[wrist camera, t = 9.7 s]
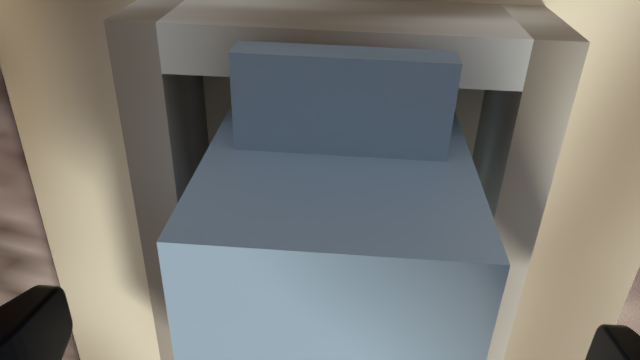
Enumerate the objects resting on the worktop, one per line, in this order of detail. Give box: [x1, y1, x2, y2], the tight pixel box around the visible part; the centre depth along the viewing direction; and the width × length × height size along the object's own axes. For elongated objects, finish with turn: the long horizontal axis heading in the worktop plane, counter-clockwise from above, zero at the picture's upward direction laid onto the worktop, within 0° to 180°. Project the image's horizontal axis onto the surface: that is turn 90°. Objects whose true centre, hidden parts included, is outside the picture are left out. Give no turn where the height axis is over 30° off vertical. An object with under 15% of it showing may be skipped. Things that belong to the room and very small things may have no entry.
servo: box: [157, 40, 510, 360], centre depth 10 cm, size 4×9×6 cm, turn 178°
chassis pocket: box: [0, 0, 640, 360], centre depth 12 cm, size 14×16×3 cm
